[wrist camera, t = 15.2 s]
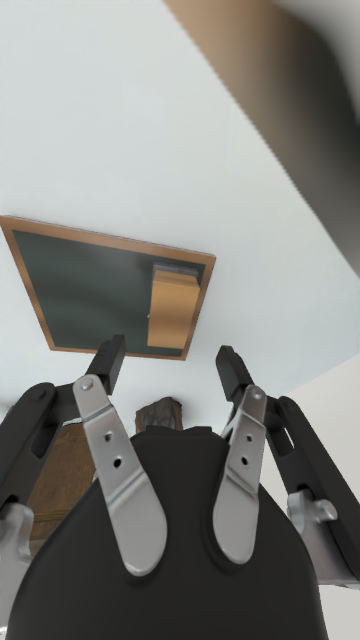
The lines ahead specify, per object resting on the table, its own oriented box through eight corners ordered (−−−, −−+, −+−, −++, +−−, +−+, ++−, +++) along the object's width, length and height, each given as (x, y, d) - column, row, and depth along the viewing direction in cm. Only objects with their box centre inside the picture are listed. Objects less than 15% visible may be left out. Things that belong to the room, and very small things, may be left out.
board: (7, 215, 15) (-6, 215, 14) (213, 254, 19) (216, 257, 18) (55, 344, 25) (49, 351, 24) (184, 355, 29) (185, 361, 27)
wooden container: (102, 445, 51) (66, 573, 33) (53, 437, 45) (-24, 586, 27) (122, 428, 45) (90, 574, 26) (67, 417, 39) (-20, 593, 21)
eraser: (154, 261, 17) (150, 274, 13) (196, 268, 18) (204, 283, 14) (148, 324, 22) (144, 348, 18) (182, 327, 23) (185, 352, 19)
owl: (171, 392, 35) (173, 546, 19) (200, 411, 41) (221, 540, 25) (133, 411, 39) (108, 552, 23) (165, 426, 45) (163, 545, 29)
